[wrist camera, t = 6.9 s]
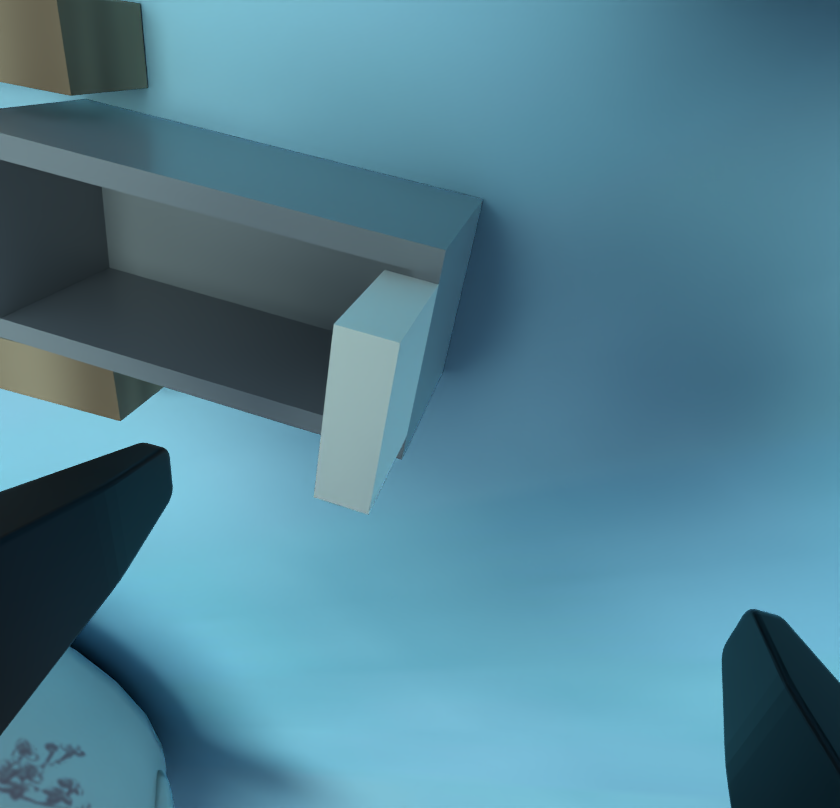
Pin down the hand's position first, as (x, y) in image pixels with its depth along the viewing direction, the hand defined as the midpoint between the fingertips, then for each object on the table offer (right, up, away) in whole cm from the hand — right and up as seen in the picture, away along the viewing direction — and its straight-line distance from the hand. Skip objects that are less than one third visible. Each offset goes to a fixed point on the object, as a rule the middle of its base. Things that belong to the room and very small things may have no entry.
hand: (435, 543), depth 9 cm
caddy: (-5, +7, +10) cm, 13 cm away
